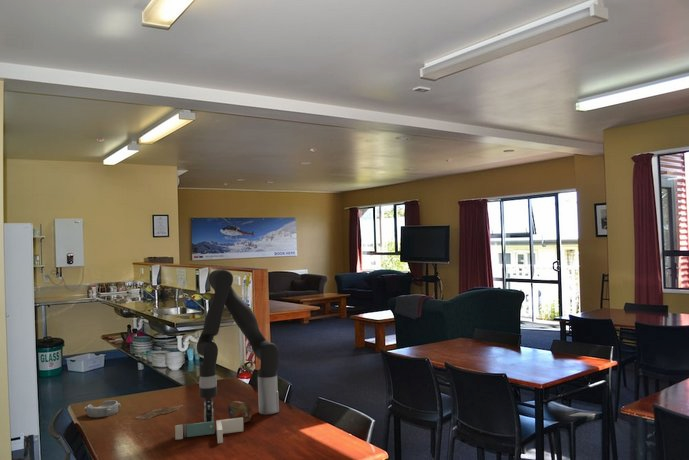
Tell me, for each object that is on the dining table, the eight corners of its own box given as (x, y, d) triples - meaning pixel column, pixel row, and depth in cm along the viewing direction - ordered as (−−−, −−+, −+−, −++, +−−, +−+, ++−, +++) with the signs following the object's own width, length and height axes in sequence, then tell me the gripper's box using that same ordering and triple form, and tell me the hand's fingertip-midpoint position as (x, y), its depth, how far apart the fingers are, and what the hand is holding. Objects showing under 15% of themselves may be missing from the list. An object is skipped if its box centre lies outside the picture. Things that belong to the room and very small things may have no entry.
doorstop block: (213, 423, 240) (213, 408, 241) (213, 426, 236) (213, 410, 237) (204, 424, 239) (203, 409, 239) (204, 427, 235) (204, 411, 236)
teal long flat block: (214, 432, 228) (214, 420, 228) (214, 434, 226) (214, 421, 226) (183, 436, 224) (183, 423, 224) (183, 438, 222) (183, 425, 222)
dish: (80, 417, 257) (80, 406, 257) (103, 408, 270) (103, 398, 270) (103, 420, 252) (103, 409, 252) (125, 411, 264) (125, 401, 265)
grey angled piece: (243, 429, 231) (242, 417, 231) (246, 439, 219) (245, 426, 219) (175, 438, 223) (175, 425, 224) (174, 449, 211) (174, 435, 211)
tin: (227, 418, 248) (227, 400, 248) (233, 416, 250) (233, 398, 250) (247, 424, 237) (247, 405, 238) (253, 423, 240) (252, 404, 240)
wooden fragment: (140, 421, 247) (140, 419, 247) (129, 417, 255) (129, 415, 255) (190, 408, 266) (190, 406, 266) (178, 404, 274) (178, 402, 274)
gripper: (217, 388, 233) (218, 428, 232) (215, 380, 246) (216, 418, 246) (199, 390, 231) (200, 430, 230) (199, 382, 244) (200, 420, 244)
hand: (209, 423), depth 238 cm, fingers closed on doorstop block, 4 cm apart
